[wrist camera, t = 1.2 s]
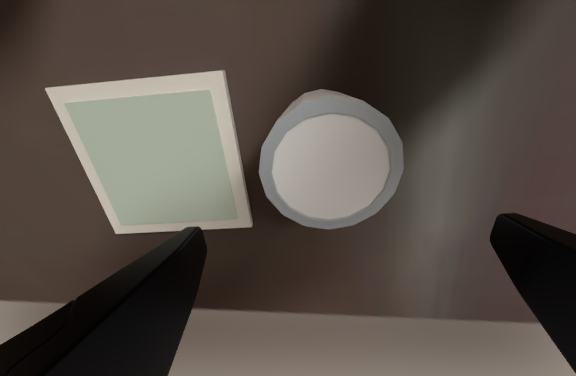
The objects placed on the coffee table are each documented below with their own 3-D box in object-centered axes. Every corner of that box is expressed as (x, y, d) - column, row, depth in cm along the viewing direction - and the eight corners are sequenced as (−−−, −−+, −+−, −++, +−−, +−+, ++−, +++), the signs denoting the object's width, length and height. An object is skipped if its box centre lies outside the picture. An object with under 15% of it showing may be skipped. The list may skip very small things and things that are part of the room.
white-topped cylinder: (388, 101, 18) (437, 130, 11) (344, 186, 21) (362, 246, 14) (291, 62, 17) (286, 70, 11) (260, 157, 20) (241, 207, 14)
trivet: (224, 69, 17) (221, 70, 16) (253, 223, 23) (251, 228, 22) (52, 87, 18) (42, 88, 17) (120, 229, 24) (114, 235, 23)
